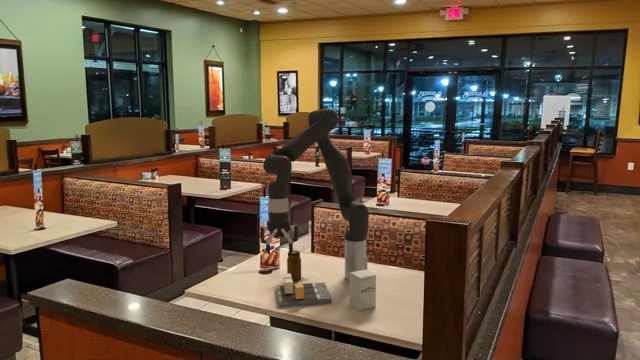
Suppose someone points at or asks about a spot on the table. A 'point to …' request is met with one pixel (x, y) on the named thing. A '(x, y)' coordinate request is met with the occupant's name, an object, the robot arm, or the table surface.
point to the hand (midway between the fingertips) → (279, 253)
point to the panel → (312, 295)
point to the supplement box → (362, 289)
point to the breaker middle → (288, 286)
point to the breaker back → (286, 277)
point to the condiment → (294, 266)
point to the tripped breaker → (299, 291)
